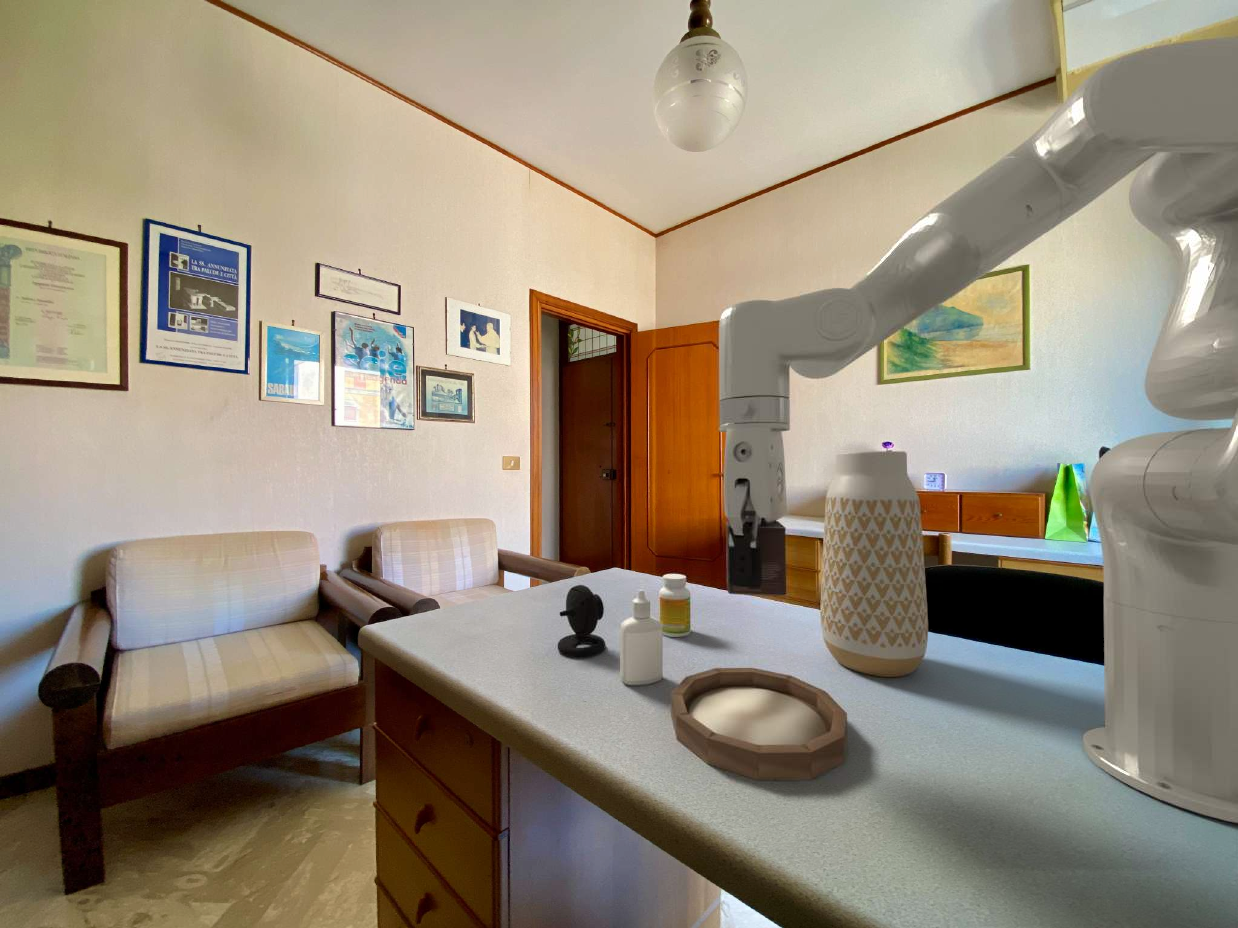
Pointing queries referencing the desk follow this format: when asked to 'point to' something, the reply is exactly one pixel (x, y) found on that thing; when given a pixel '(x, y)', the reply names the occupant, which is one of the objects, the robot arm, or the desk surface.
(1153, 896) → the desk surface
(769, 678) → the round tray
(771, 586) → the box
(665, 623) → the supplement bottle
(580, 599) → the webcam
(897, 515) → the vase
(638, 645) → the eye dropper bottle
